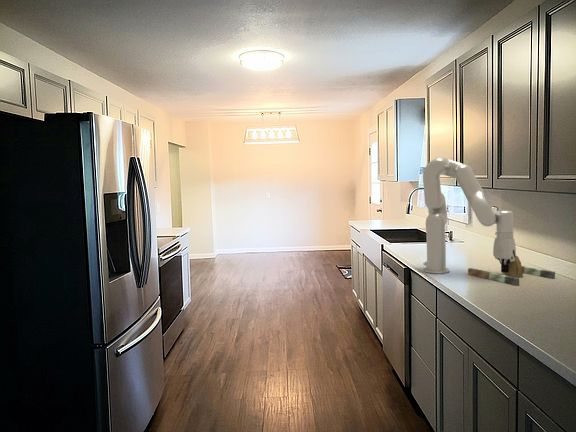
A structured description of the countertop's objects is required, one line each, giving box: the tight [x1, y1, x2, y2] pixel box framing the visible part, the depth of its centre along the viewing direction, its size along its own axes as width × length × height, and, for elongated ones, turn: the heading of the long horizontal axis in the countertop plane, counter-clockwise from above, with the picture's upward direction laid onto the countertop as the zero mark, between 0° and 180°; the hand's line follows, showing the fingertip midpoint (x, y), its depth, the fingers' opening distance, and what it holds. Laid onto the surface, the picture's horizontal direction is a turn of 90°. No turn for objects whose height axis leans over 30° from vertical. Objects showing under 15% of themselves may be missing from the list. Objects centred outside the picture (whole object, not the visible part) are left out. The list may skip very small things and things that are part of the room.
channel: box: [467, 265, 556, 287], centre depth 218 cm, size 28×26×3 cm
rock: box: [502, 255, 524, 278], centre depth 220 cm, size 11×9×10 cm
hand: (504, 271), depth 221 cm, fingers closed
